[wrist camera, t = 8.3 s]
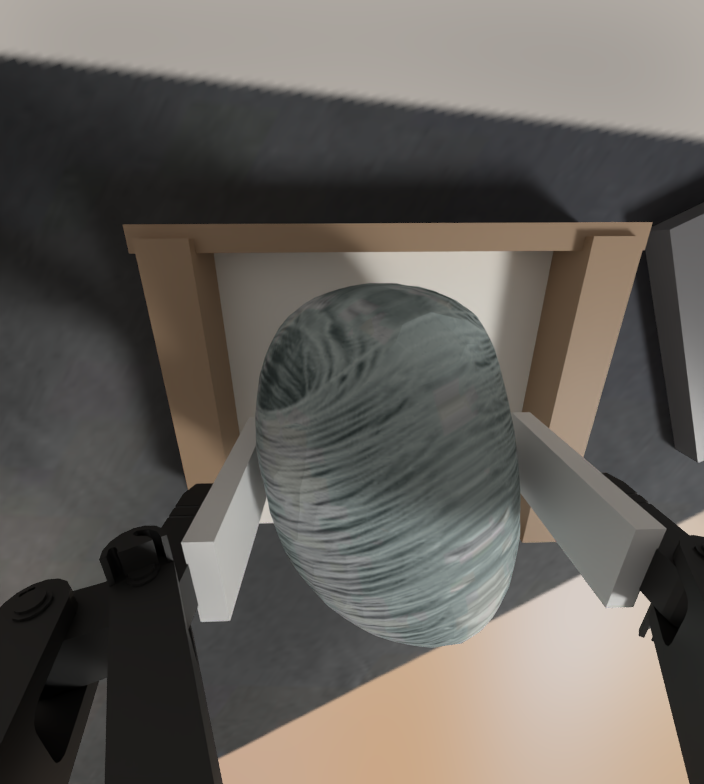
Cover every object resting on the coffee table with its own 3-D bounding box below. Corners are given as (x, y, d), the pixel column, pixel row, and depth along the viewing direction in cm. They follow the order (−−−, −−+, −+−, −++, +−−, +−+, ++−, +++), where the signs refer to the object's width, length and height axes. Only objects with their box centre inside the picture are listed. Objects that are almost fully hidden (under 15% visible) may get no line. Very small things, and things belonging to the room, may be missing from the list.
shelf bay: (221, 502, 23) (193, 559, 18) (171, 230, 17) (114, 223, 12) (525, 494, 23) (566, 548, 19) (584, 228, 17) (663, 221, 13)
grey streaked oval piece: (163, 297, 11) (306, 530, 4) (399, 230, 15) (694, 286, 8) (271, 536, 19) (381, 751, 12) (405, 454, 23) (550, 583, 16)
